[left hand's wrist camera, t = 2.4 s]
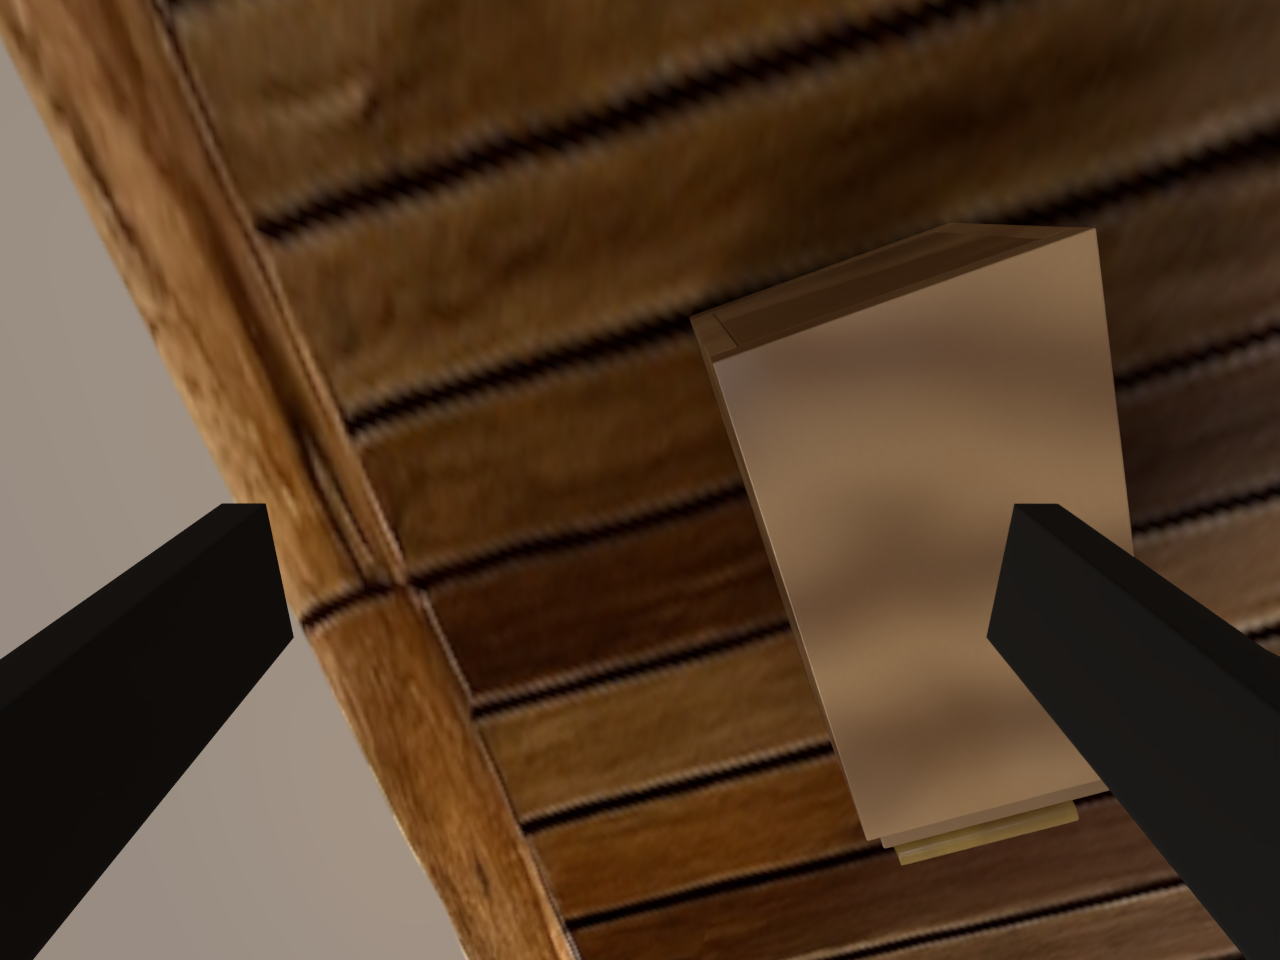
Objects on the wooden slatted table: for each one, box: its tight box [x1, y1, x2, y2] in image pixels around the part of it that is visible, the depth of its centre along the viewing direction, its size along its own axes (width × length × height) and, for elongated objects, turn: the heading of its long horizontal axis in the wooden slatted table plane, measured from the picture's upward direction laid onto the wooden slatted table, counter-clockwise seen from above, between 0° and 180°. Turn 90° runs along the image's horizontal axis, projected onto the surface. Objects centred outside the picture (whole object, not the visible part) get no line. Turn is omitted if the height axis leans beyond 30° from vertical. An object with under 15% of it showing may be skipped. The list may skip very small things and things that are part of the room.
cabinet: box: [690, 222, 1134, 841], centre depth 29 cm, size 21×12×10 cm, turn 20°
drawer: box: [880, 780, 1109, 865], centre depth 31 cm, size 25×10×8 cm, turn 20°
